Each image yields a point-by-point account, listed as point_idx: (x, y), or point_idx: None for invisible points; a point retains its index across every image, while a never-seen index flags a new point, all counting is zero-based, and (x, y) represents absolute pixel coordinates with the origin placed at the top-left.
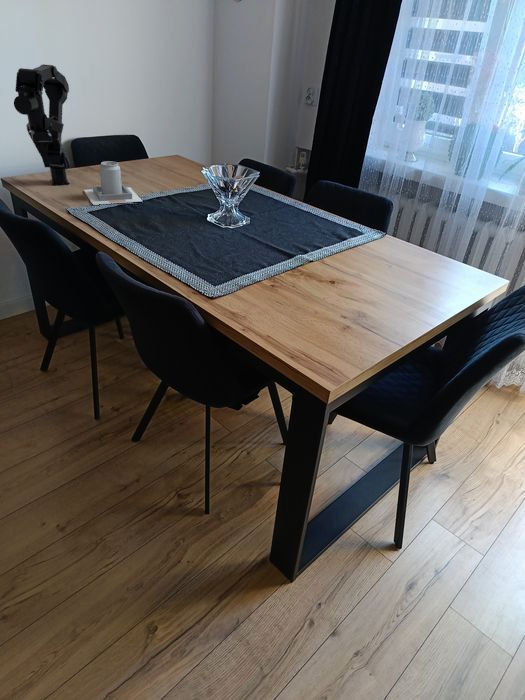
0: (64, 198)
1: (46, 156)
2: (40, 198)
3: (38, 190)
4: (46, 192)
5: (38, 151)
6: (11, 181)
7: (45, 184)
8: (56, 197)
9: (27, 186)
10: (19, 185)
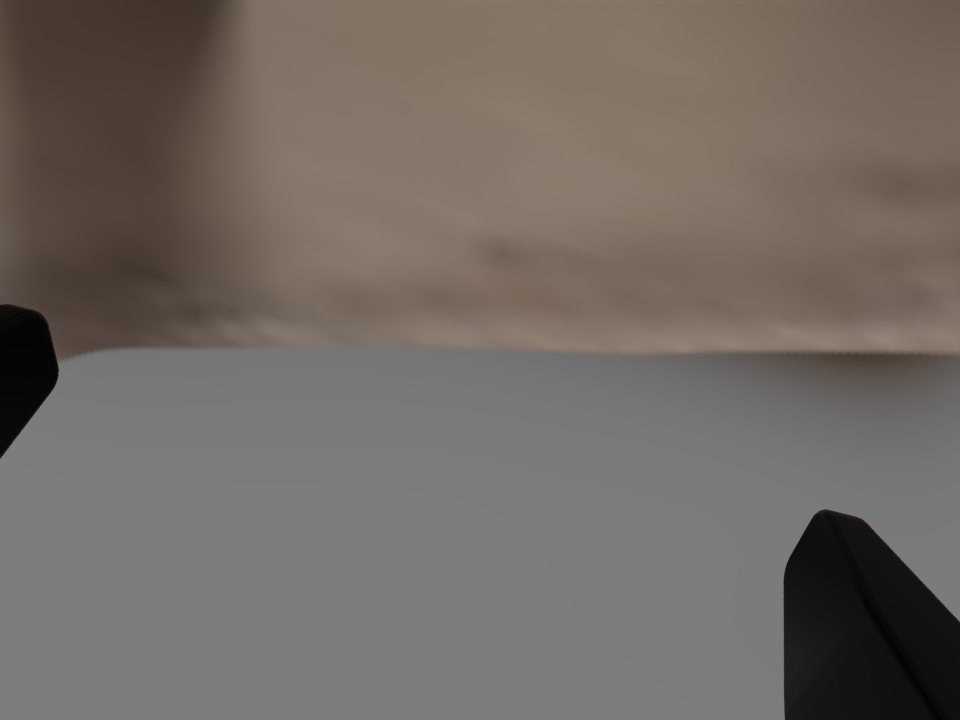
0: (956, 10)
1: (951, 615)
2: (745, 309)
3: (414, 216)
4: (531, 157)
5: (8, 439)
6: None
7: (171, 42)
8: (825, 111)
9: (231, 268)
10: (186, 324)
